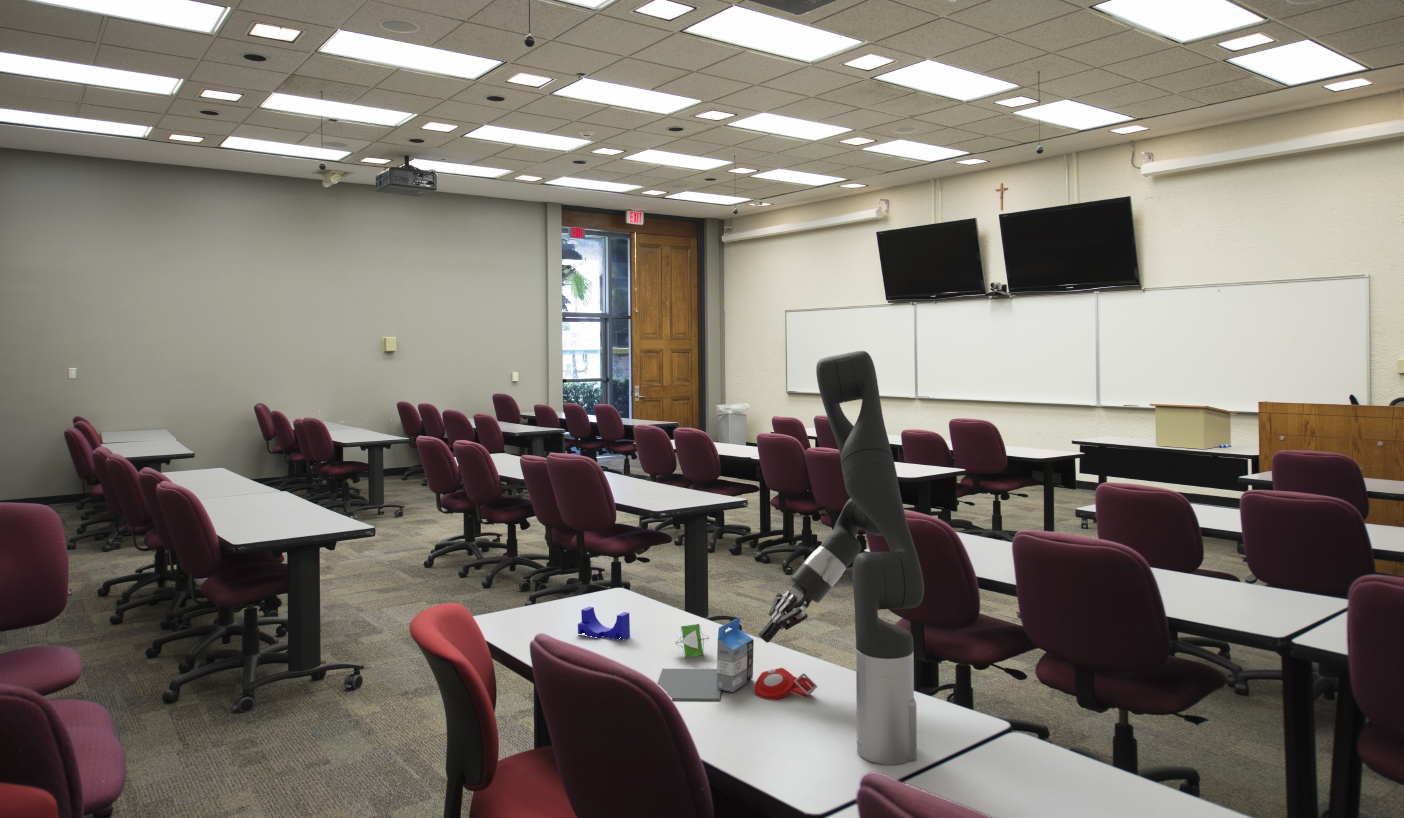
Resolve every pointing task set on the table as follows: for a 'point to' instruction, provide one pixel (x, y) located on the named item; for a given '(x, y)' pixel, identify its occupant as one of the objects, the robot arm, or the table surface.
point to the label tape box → (734, 657)
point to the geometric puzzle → (692, 640)
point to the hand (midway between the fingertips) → (762, 639)
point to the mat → (690, 684)
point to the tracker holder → (782, 684)
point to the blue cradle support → (596, 629)
